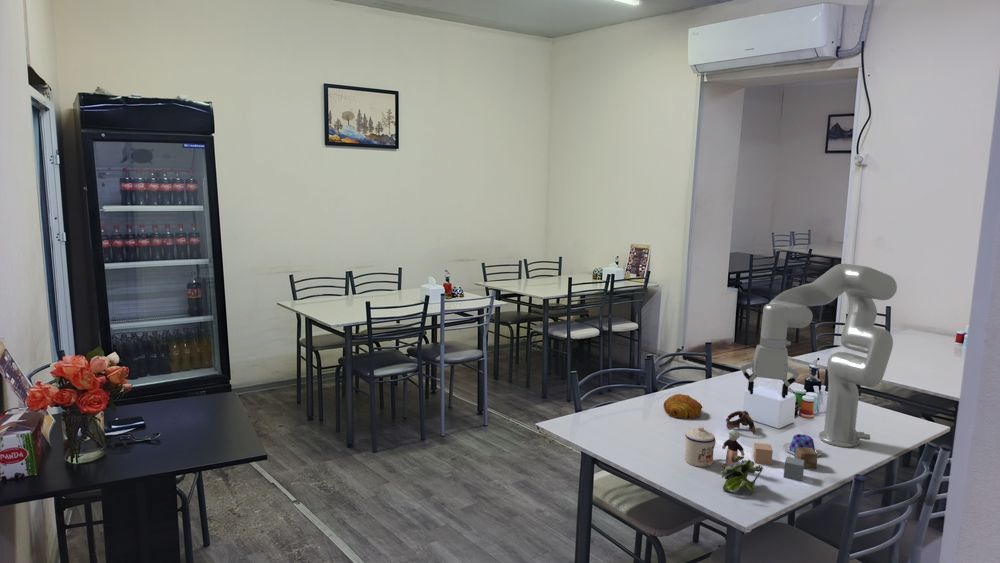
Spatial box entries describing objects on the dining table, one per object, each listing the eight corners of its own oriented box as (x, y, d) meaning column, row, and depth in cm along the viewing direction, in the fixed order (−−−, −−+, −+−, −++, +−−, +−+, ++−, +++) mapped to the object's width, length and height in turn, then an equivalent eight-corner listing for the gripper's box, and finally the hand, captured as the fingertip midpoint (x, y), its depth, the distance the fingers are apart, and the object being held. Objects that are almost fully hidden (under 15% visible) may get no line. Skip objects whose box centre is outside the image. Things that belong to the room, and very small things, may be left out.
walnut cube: (810, 462, 207) (811, 447, 206) (816, 469, 202) (817, 454, 201) (794, 461, 208) (795, 447, 207) (799, 468, 203) (801, 453, 202)
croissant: (658, 419, 249) (657, 401, 247) (672, 403, 261) (672, 385, 259) (694, 427, 241) (694, 407, 239) (707, 410, 253) (707, 391, 251)
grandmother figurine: (717, 466, 203) (719, 428, 201) (722, 462, 206) (725, 425, 204) (741, 474, 198) (744, 434, 196) (746, 470, 200) (749, 431, 198)
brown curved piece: (755, 439, 227) (745, 420, 226) (730, 444, 232) (720, 425, 231) (760, 421, 236) (750, 402, 235) (736, 426, 242) (726, 408, 241)
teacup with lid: (700, 470, 200) (702, 434, 198) (677, 459, 207) (679, 425, 206) (725, 461, 206) (727, 427, 205) (702, 451, 214) (704, 418, 212)
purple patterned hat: (777, 443, 222) (778, 429, 222) (812, 445, 222) (814, 430, 221) (790, 458, 210) (792, 443, 210) (828, 459, 210) (829, 444, 209)
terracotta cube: (769, 459, 209) (770, 444, 208) (771, 465, 204) (772, 450, 204) (753, 457, 210) (754, 442, 210) (754, 463, 206) (755, 448, 205)
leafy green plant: (734, 500, 192) (749, 463, 195) (761, 510, 182) (777, 472, 185) (708, 483, 189) (724, 446, 192) (734, 493, 179) (750, 454, 182)
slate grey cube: (803, 475, 198) (804, 460, 197) (801, 481, 193) (802, 466, 193) (785, 471, 200) (787, 456, 199) (783, 477, 196) (784, 462, 195)
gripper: (800, 343, 204) (794, 395, 206) (742, 337, 208) (737, 388, 211) (804, 348, 197) (798, 402, 199) (744, 342, 201) (739, 394, 204)
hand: (767, 395), depth 205 cm, fingers open, 9 cm apart
